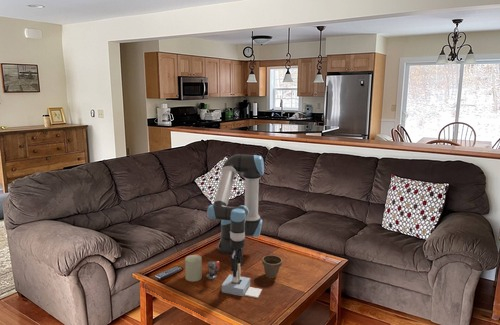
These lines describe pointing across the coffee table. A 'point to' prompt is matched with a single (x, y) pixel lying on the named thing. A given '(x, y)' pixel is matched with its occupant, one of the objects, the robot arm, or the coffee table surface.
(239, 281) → the dowel
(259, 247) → the coffee table surface
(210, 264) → the chrome ball lever
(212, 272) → the crank post
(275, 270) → the flower pot
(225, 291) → the block
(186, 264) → the can
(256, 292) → the mat
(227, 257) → the coffee table surface
